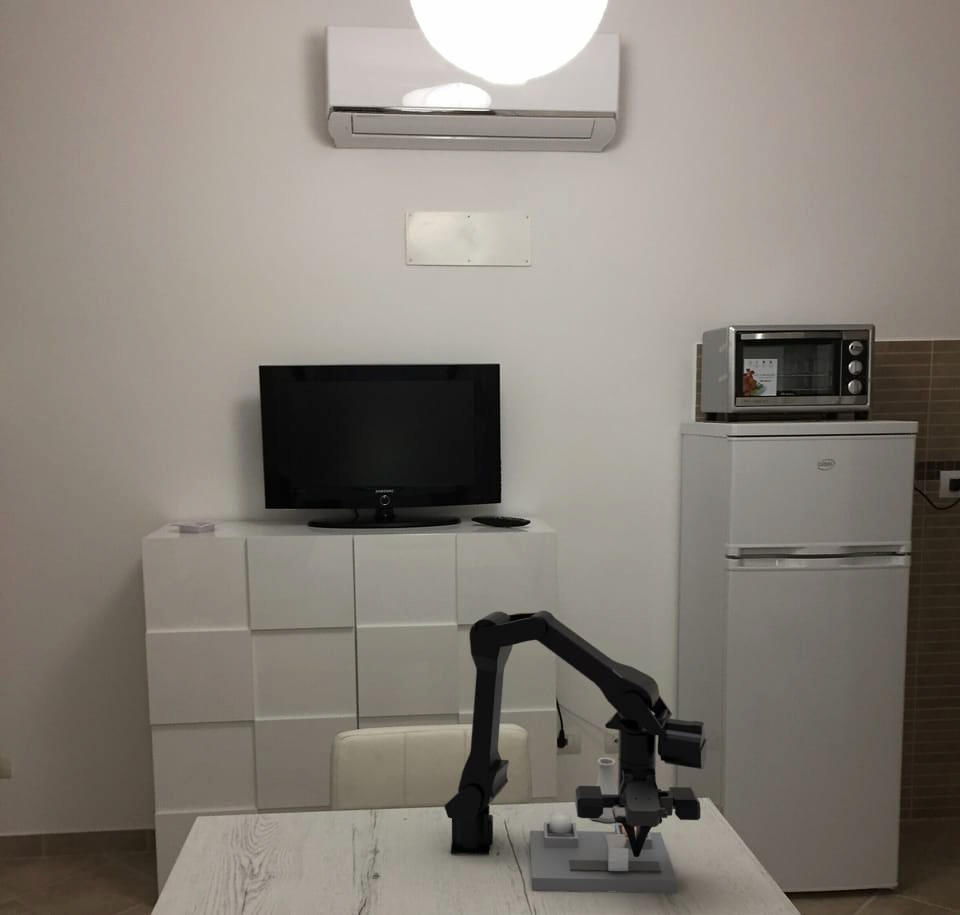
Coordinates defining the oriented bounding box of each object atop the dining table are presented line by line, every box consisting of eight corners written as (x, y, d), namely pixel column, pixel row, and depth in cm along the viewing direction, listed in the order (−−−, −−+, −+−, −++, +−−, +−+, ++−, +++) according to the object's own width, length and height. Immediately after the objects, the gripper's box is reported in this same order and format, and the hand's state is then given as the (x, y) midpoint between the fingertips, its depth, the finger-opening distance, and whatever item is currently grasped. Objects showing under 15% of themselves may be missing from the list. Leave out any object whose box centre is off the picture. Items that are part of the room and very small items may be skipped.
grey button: (550, 832, 143) (550, 821, 143) (549, 822, 147) (549, 810, 147) (572, 833, 143) (572, 821, 143) (570, 822, 147) (570, 811, 146)
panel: (531, 890, 133) (531, 867, 133) (530, 841, 148) (530, 821, 148) (676, 893, 132) (676, 869, 132) (660, 843, 147) (660, 823, 147)
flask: (625, 806, 161) (625, 753, 161) (628, 825, 154) (628, 769, 154) (585, 805, 162) (585, 752, 162) (586, 823, 155) (586, 768, 154)
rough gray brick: (608, 870, 134) (608, 847, 134) (605, 856, 138) (605, 834, 138) (628, 871, 134) (628, 848, 134) (624, 856, 138) (624, 834, 138)
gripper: (580, 779, 127) (579, 882, 128) (709, 781, 127) (707, 885, 128) (575, 749, 139) (574, 844, 139) (693, 750, 138) (692, 846, 139)
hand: (635, 855), depth 136 cm, fingers closed
